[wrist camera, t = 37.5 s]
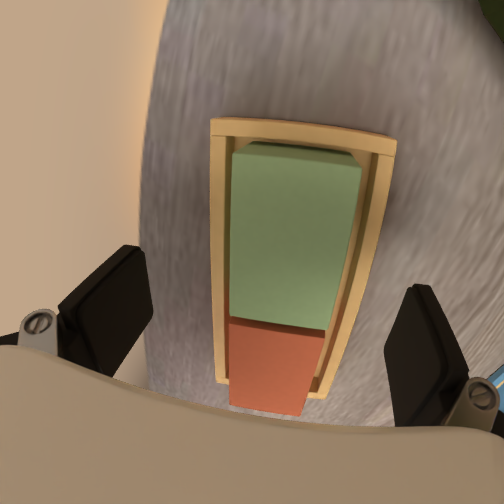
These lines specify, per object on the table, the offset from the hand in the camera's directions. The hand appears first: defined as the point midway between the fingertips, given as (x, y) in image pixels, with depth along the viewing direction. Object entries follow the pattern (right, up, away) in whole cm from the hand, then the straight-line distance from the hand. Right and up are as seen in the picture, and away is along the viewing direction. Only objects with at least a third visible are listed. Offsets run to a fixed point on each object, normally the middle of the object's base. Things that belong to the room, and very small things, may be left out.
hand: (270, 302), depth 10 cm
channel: (+2, 0, +8) cm, 9 cm away
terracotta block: (+1, -4, +10) cm, 11 cm away
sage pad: (+2, +4, +6) cm, 7 cm away
